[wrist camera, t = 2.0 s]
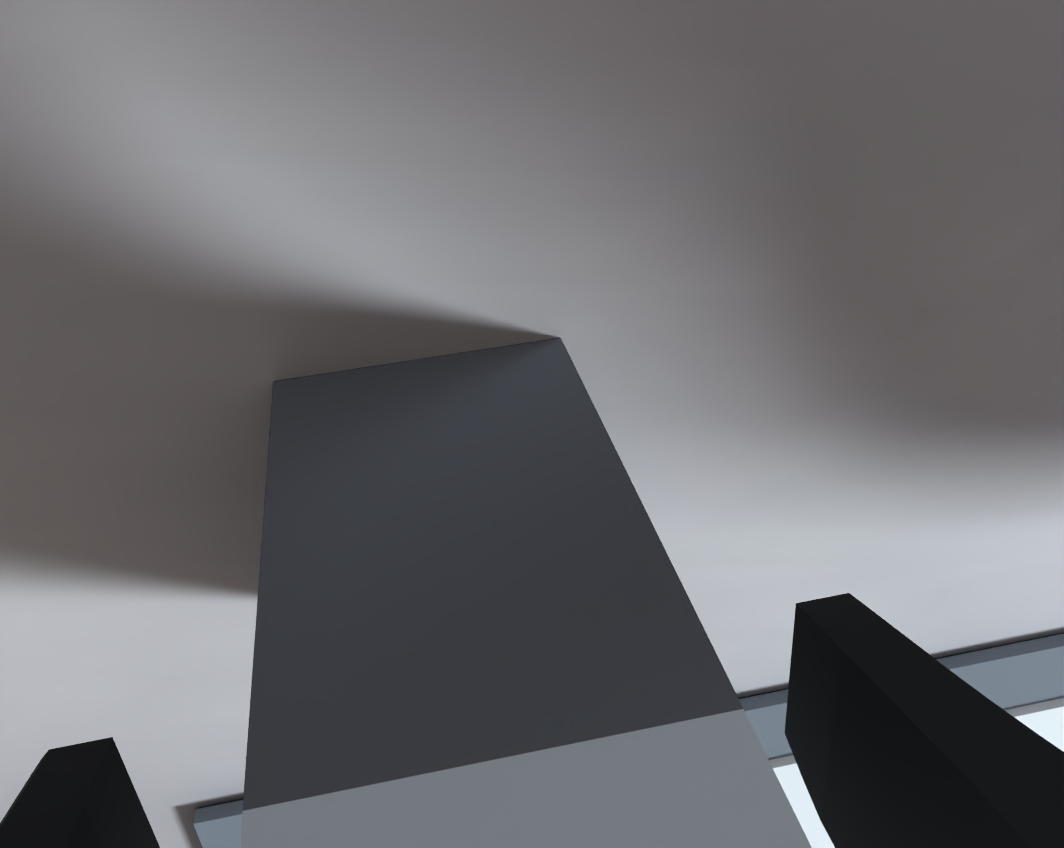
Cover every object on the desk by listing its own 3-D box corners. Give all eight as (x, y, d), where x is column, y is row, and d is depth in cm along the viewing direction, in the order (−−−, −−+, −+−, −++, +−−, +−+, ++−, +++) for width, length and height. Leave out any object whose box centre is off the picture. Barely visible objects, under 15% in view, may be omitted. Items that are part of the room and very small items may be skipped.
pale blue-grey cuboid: (561, 338, 14) (858, 942, 6) (575, 558, 16) (811, 1211, 8) (272, 381, 13) (222, 1092, 6) (326, 604, 16) (339, 1341, 8)
